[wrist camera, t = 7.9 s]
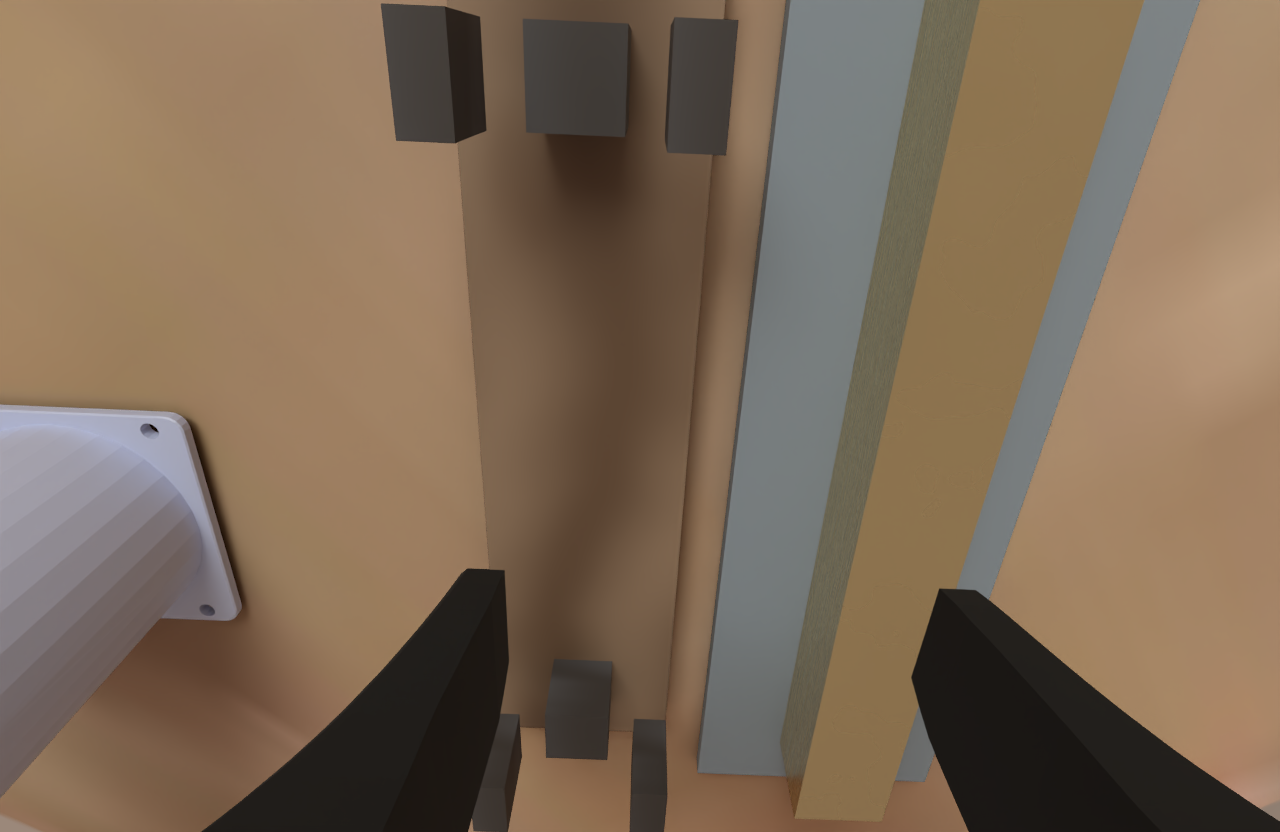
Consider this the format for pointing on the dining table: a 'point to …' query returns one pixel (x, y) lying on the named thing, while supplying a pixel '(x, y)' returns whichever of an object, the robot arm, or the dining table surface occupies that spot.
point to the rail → (941, 361)
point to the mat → (829, 332)
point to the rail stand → (578, 336)
